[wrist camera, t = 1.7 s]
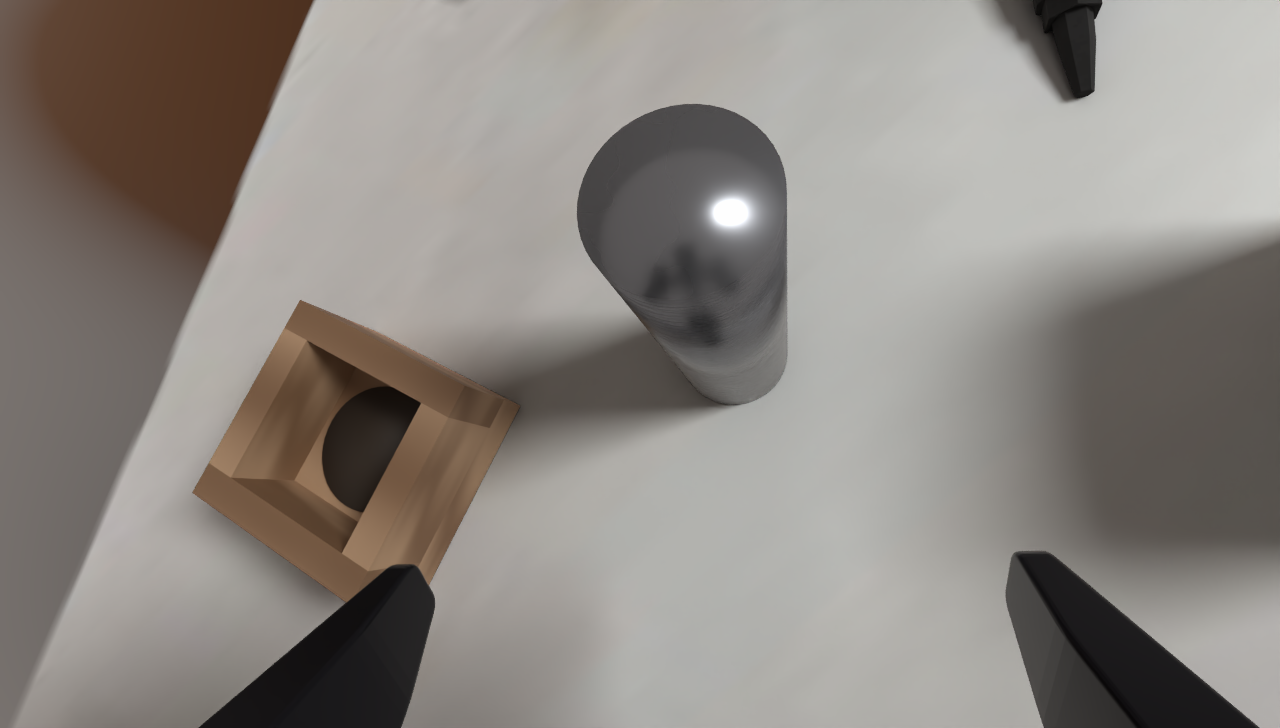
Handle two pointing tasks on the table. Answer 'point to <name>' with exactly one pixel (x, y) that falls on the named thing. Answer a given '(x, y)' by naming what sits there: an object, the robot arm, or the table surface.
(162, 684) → the table surface
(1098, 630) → the robot arm
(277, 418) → the socket block
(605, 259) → the pin
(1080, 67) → the microphone
